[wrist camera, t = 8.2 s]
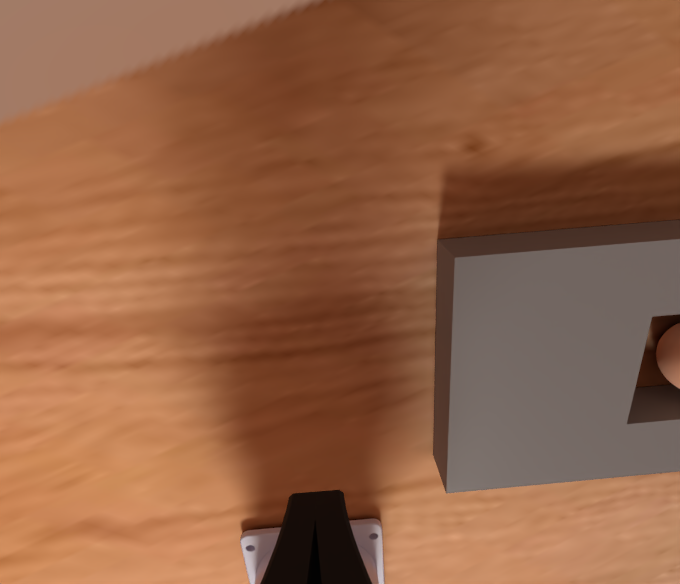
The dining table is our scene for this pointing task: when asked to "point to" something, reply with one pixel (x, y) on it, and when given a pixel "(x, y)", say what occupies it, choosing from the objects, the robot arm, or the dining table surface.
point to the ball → (670, 355)
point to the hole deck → (553, 356)
